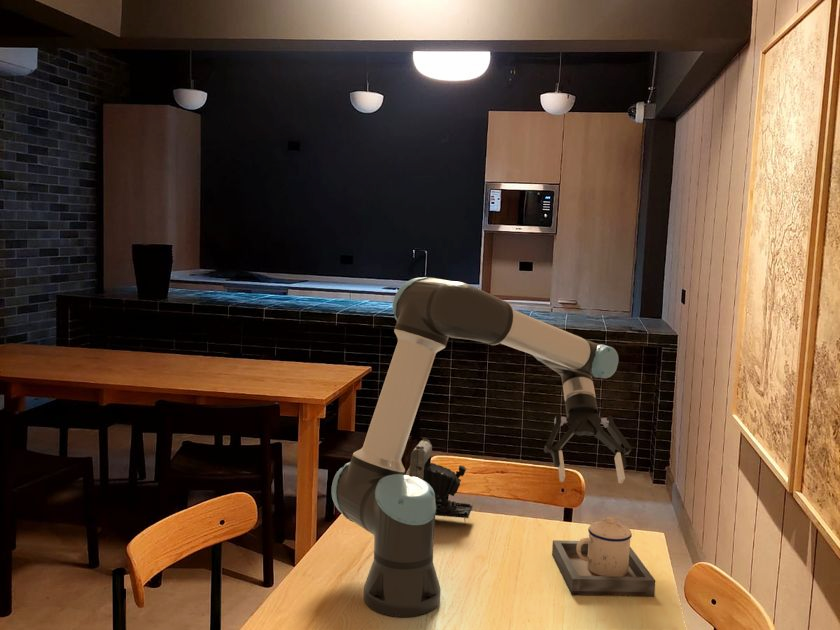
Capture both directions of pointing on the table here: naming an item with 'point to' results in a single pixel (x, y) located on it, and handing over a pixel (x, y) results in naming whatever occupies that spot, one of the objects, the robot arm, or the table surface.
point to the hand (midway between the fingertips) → (592, 480)
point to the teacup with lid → (607, 548)
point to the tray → (590, 584)
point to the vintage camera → (438, 481)
